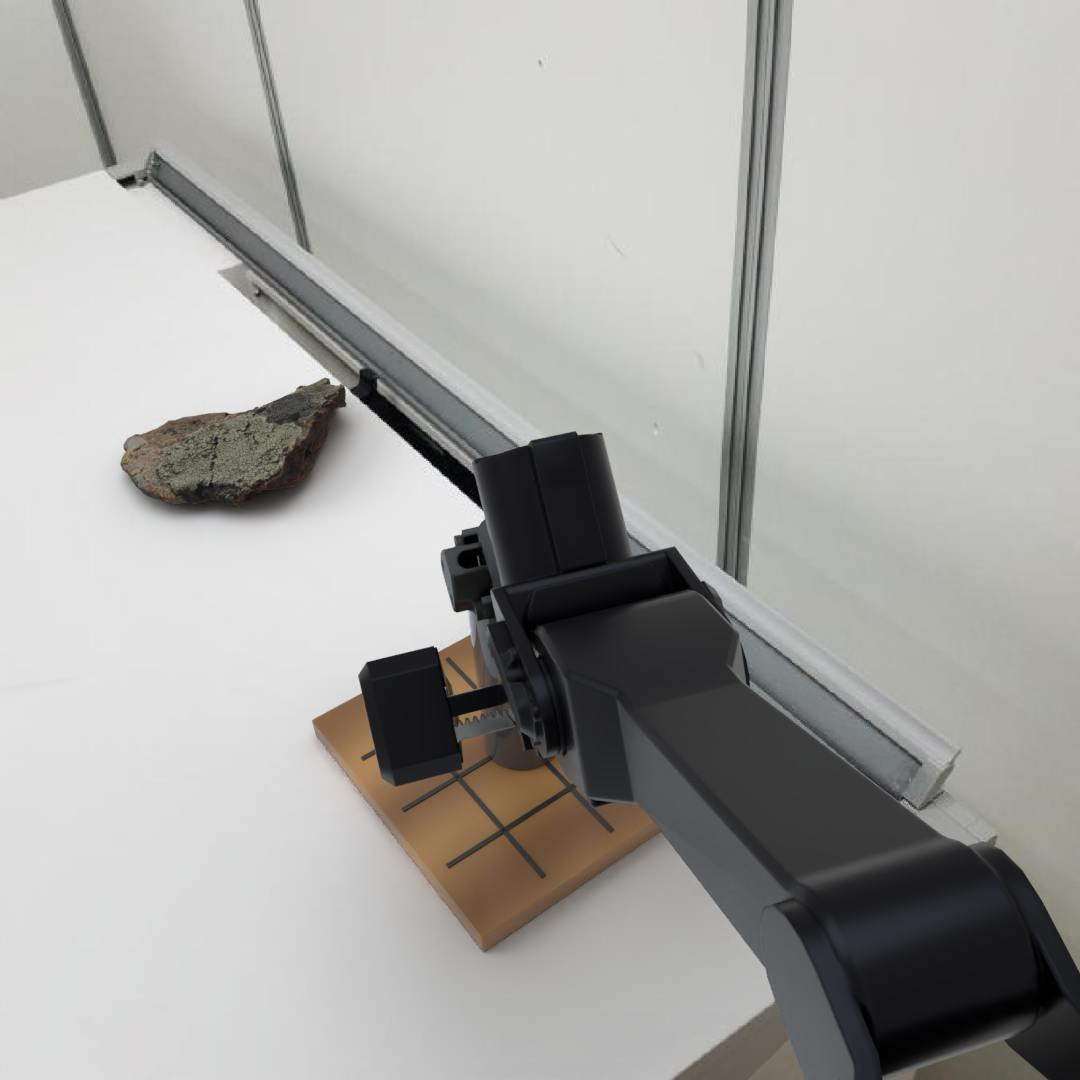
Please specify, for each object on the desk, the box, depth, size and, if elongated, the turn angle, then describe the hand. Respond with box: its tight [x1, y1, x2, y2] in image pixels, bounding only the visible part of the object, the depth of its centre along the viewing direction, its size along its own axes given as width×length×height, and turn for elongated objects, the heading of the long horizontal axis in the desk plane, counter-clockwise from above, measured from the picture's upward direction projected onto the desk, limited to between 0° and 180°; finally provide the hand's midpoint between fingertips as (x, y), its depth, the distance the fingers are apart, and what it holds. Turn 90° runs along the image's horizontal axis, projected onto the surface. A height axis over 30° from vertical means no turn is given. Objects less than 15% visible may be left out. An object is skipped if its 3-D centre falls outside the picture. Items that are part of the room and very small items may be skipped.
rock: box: [119, 377, 347, 508], centre depth 99 cm, size 20×17×5 cm
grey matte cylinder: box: [467, 610, 554, 770], centre depth 69 cm, size 5×5×13 cm
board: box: [311, 633, 661, 953], centre depth 74 cm, size 20×20×2 cm
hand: (526, 679), depth 66 cm, fingers open, 9 cm apart
